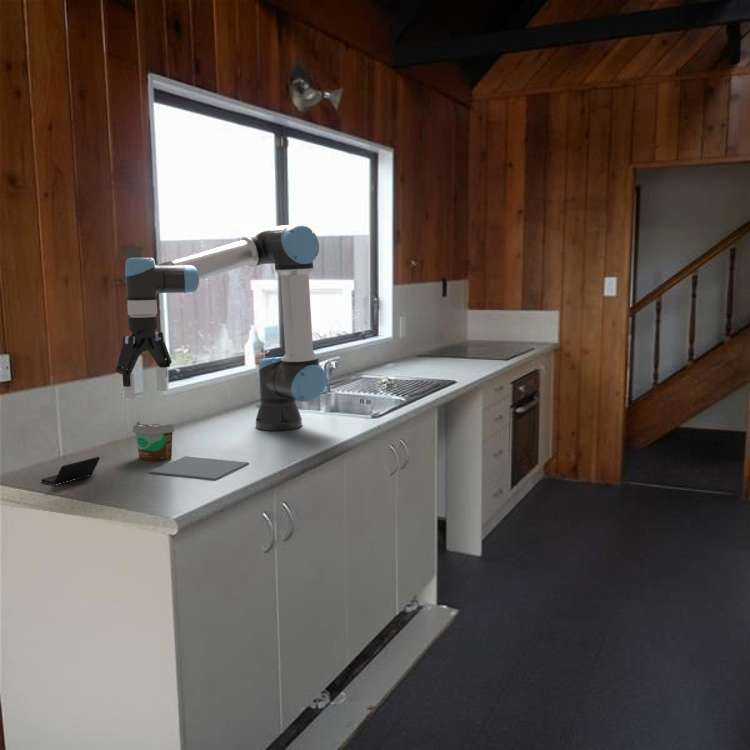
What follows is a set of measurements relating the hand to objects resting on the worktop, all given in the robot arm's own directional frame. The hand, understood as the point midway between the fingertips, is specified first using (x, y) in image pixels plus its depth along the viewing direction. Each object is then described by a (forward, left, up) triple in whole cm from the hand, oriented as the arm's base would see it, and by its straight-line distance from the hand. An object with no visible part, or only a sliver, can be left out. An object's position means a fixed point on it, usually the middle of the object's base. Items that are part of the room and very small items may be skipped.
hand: (146, 394), depth 201 cm
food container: (0, 0, -19) cm, 19 cm away
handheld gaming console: (+22, -7, -19) cm, 30 cm away
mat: (+3, +18, -18) cm, 26 cm away
